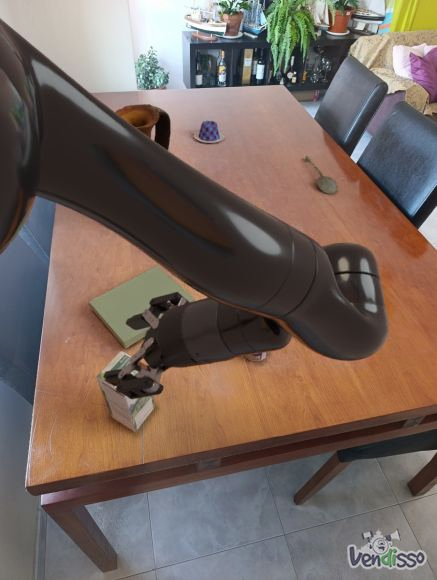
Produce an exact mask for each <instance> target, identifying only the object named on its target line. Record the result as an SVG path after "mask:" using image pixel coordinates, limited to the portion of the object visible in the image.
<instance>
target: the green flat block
mask: <svg viewBox="0 0 437 580" xmlns="http://www.w3.org/2000/svg"><path fill="white" fill-rule="evenodd" d="M174 292H179V293H180V294H181V295H182V296H183V297H184V298H185V299H187V300H188V301H189V302H194V301H196V300H195V299H196V298H194V297H193V296H192V295H191V294H190V293H189V292H188V291H187V290H185V289H184V287H182V286H181V285H180V284H179V283H178V282H177V281H176V280H174V279H173V278H172V277H171V276H170V275H169V274H168V273H167V272H166V271H165V270H164V269H163V268H161V266H160V265H159V264H157V265H155V266H153V267H152V268H150V269H147V270H146V271H144V272H142V273H139V274H138V275H136V276H134V277H132V278H130V279H129V280H127V281H125V282H123V283H120V284H119V285H117V286H115V287H113V288H111V289H109V290H108V291H106V292H104V293H102V294H101V295H98V296H97V297H95V298H92V299H91V300H89V301H88V303H89V307H90V309H91V310H92V311H93V312H94V313H95V315H96V316H97V317H98V319H100V320H101V322H102V323H103V324H104V325H105V326H106V328H107V329H108V330H109V332H111V333H112V335H113V336H114V337H115V339H116V340H117V341H118V342H119V343H120V344H121V345H122V347H124V349H127V348H129V347H131V346H133V345H134V344H136V343H137V342H139V341H140V340H142V339H143V338H145V335H146V332H147V330H149V329H150V327H147V328H144V329H140V330H133V329H132V328H131V327H129V326H128V325H126V321H127V319H128V318H131V317H133V316H134V315H137V314H140V313H143V311H144V310H146V309H149V308H150V306H151V305H150V304H149V302H150V300H151V299H152V298H155V297H159V296H163V295H167V294H170V293H174ZM162 315H163V314H160V316H159V318H161V316H162Z"/></svg>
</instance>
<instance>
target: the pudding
mask: <svg viewBox="0 0 437 580" xmlns="http://www.w3.org/2000/svg"><path fill="white" fill-rule="evenodd" d="M193 138H194V139H195V140H197V141H199V142H201V143H209V144H212V143H218V142H221V141H223V140H224V139H225V138H226V135H225V133H224V132H223V131H222V130H219V126H218V123H217V122H216V121H214V120H204V121H202V122H201V125H200V129H198V130H196V131H194V132H193Z"/></svg>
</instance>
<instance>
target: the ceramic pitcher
mask: <svg viewBox="0 0 437 580" xmlns="http://www.w3.org/2000/svg"><path fill="white" fill-rule="evenodd" d="M114 112H115V113H117V114H118V115H119V116H121V117H122V118H123V119H125V120H126V121H127V122H129V123H130V124H131V125H133V126H134V127H135V128H137V129H138V130H139V131H141V132H142V133H143V134H145V135H146V136H148V137H149V138H151V139H152V131H153V129H154V139H153V141H155V142H156V143H158V144H159V145H160V146H162V147H163V148H165V149H166V150H168V151H169V150H170V149H169V148H170V141H171V134H172V132H171V131H172V128H171V127H172V126H171V125H172V123H171V117H170V115H169V114H168V112H166V111H165V110H164V109H163V108H160V107H158V106H154V105H151V103H148V104H147V103H146V104H145V103H143V104H129V105H125V106H123V107H121V108H119V109H116V110H115V111H114Z"/></svg>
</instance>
